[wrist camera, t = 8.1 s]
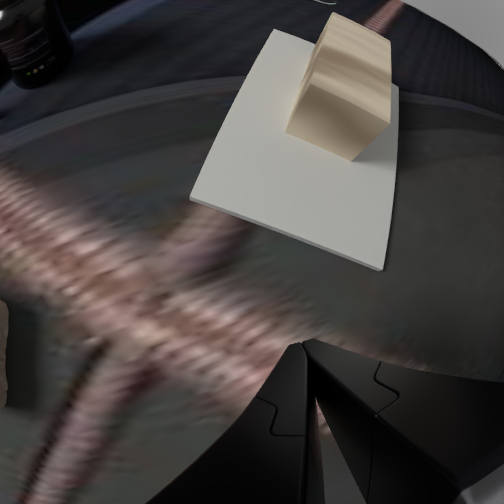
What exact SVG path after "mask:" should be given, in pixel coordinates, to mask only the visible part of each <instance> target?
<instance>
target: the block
mask: <svg viewBox="0 0 504 504" xmlns="http://www.w3.org/2000/svg"><path fill="white" fill-rule="evenodd" d="M390 115H391V47H390V41H389V40H387V39H385V38H384V37H382V36H380V35H378V34H376V33H375V32H373V31H371V30H369V29H367V28H365V27H363V26H361V25H359V24H357V23H355V22H353V21H351V20H349V19H347V18H345V17H343V16H340V15H338V14H336V13H334V12H332V14H331V16H330V18H329V20H328V22H327V24H326V26H325V28H324V30H323V32H322V34H321V35H320V37H319V39H318V41H317V43H316V45H315V47H314V49H313V51H312V53H311V56H310V59H309V62H308V65H307V68H306V70H305V73H304V76H303V79H302V82H301V85H300V88H299V91H298V93H297V96H296V99H295V102H294V105H293V108H292V111H291V114H290V117H289V120H288V123H287V125H286V128H285V131H284V132H285V133H287V134H290V135H292V136H295V137H297V138H299V139H302V140H304V141H306V142H309V143H311V144H313V145H316V146H318V147H320V148H322V149H325V150H327V151H329V152H331V153H333V154H336V155H338V156H340V157H342V158H344V159H346V160H348V161H350V162H351V161H352V160H353V159H354V158H355V157H356V156H357V155H358V154H359V153H361V152H362V151H363V150H364V149H365V148H366V147H367V146H368V145H369V144H370V143H371V142H372V141H373V140H374V139H375V138H376V137H377V136H378V135H379V134H380V133H381V132H382V131H383V130H384V129H385V128H387V127H388V126H389V125H390Z"/></svg>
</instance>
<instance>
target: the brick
mask: <svg viewBox="0 0 504 504" xmlns="http://www.w3.org/2000/svg"><path fill="white" fill-rule="evenodd" d="M8 318H9V313H8V308H7V305H6V303H5V302H3V301H2V300H1V299H0V409H2V408H3V407H4V406H5V404H6V400H7V392H6V391H7V389H8V383H7V380H6V370H5V359H6V356H5V353H6V352H5V349H6V340H7V336H8Z"/></svg>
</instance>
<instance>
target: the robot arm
mask: <svg viewBox="0 0 504 504" xmlns="http://www.w3.org/2000/svg"><path fill="white" fill-rule="evenodd" d="M315 397H316V398H315ZM316 400H317V403H318V405H319V407H320V409H321V411H322V413H323V415H324V417H325V420H326V422H327V424H328V426H329V428H330V430H331V432H332V434H333V436H334V438H335V440H336V442H337V444H338V446H339V448H340V450H341V452H342V455H343V457H344V459H345V461H346V463H347V465H348V467H349V469H350V471H351V473H352V475H353V477H354V479H355V481H356V483H357V485H358V487H359V489H360V491H361V493H362V495H363V497H364V500H365V502H366V503H367V504H504V382H494V381H485V380H477V379H469V378H462V377H455V376H448V375H442V374H435V373H429V372H424V371H418V370H413V369H409V368H404V367H400V366H397V365H393V364H390V363H387V362H381V361H379V360H376V359H372V358H369V357H366V356H363V355H360V354H357V353H354V352H351V351H348V350H345V349H342V348H339V347H337V346H334V345H331V344H328V343H325V342H322V341H319V340H317V339H310V340H306V341H303V342H302V343H300V342H298V343H294V344H290V345H289V346H288V347H287V349H286V350H285V352H284V353H283V355H282V356H281V358H280V359H279V361H278V363H277V364H276V366H275V367H274V369H273V370H272V372H271V373H270V375H269V376H268V378H267V379H266V381H265V382H264V384H263V385H262V387H261V388H260V390H259V391H258V392H257V394H256V395H255V397H254V398H253V399H252V400H251V402H250V403H249V405H248V406H247V407H246V409H245V410H244V411H243V412H242V414H241V415H240V416H239V417H238V418H237V419H236V421H235V422H234V423H233V424H232V425H231V426H230V427H229V428H228V429H227V430H226V431H225V432H224V433H223V434H222V435H221V436H220V437H219V438H218V439H217V440H216V441H215V442H214V443H213V444H212V445H211V446H210V447H209V448H208V449H207V450H206V451H205V452H204V453H203V454H201V455H200V456H199V457H198V458H197V459H196V460H195V461H194V462H193V463H192V464H191V465H190V466H189V467H187V468H186V469H185V470H184V471H183V472H182V473H181V474H180V475H179V476H177V477H176V478H175V479H174V480H173V481H172V482H171V483H169V484H168V485H167V486H166V487H165V488H164V489H162V490H161V491H160V492H159V493H158V494H156V495H155V496H154V497H153V498H152V499H150V500H149V501H148V502H147V503H145V504H325V495H324V481H323V467H322V455H321V444H320V433H319V423H318V413H317V405H316Z"/></svg>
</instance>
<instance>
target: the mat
mask: <svg viewBox="0 0 504 504" xmlns="http://www.w3.org/2000/svg"><path fill="white" fill-rule="evenodd" d="M314 47H315V44H313V43H310V42H308V41H305V40H303V39H300V38H298V37H295V36H292V35H290V34H287V33H284V32H281V31H278V30H275V29H274V30H273V32H272V33H271V35H270V37H269V38H268V40H267V42H266V44H265V45H264V47H263V49H262V51H261V52H260V54H259V56H258V58H257V59H256V61H255V63H254V65H253V67H252V68H251V70H250V72H249V74H248V76H247V78H246V80H245V81H244V83H243V85H242V87H241V89H240V91H239V93H238V95H237V97H236V99H235V101H234V103H233V105H232V107H231V109H230V111H229V113H228V115H227V117H226V119H225V121H224V123H223V125H222V127H221V129H220V131H219V133H218V135H217V137H216V139H215V141H214V143H213V146H212V148H211V150H210V152H209V154H208V156H207V159H206V161H205V163H204V165H203V167H202V170H201V172H200V174H199V176H198V179H197V181H196V183H195V186H194V188H193V190H192V192H191V195H190V200H191V201H194V202H197V203H200V204H203V205H205V206H208V207H211V208H214V209H216V210H219V211H222V212H225V213H228V214H230V215H233V216H236V217H239V218H241V219H244V220H247V221H249V222H252V223H255V224H258V225H260V226H263V227H266V228H268V229H271V230H274V231H276V232H279V233H282V234H284V235H287V236H289V237H292V238H295V239H297V240H300V241H303V242H305V243H308V244H310V245H313V246H316V247H318V248H321V249H323V250H326V251H328V252H331V253H333V254H336V255H339V256H341V257H344V258H346V259H349V260H351V261H354V262H356V263H359V264H361V265H364V266H366V267H369V268H371V269H374V270H376V271H381V270H383V266H384V260H385V254H386V248H387V242H388V236H389V229H390V222H391V214H392V206H393V197H394V187H395V176H396V163H397V147H398V119H399V88H398V87H397V86H396V85H394V84H392V83H391V115H390V125H389V126H388V127H387V128H385V129H384V130H383V131H382V132H381V133H380V134H379V135H378V136H377V137H376V138H375V139H374V140H373V141H372V142H371V143H370V144H369V145H368V146H367V147H366V148H365V149H364V150H363V151H362V152H361V153H359V154H358V155H357V156H356V157H355V158H354V159H353V160H352V161H351V162H350V161H348V160H346V159H344V158H342V157H340V156H338V155H336V154H333V153H331V152H329V151H327V150H325V149H322V148H320V147H318V146H316V145H313V144H311V143H309V142H306V141H304V140H302V139H299V138H297V137H295V136H292V135H290V134H287V133H285V132H284V131H285V128H286V125H287V123H288V120H289V117H290V114H291V111H292V108H293V105H294V102H295V99H296V96H297V93H298V91H299V88H300V85H301V82H302V79H303V76H304V73H305V70H306V68H307V65H308V62H309V59H310V56H311V53H312V51H313V49H314Z"/></svg>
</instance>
